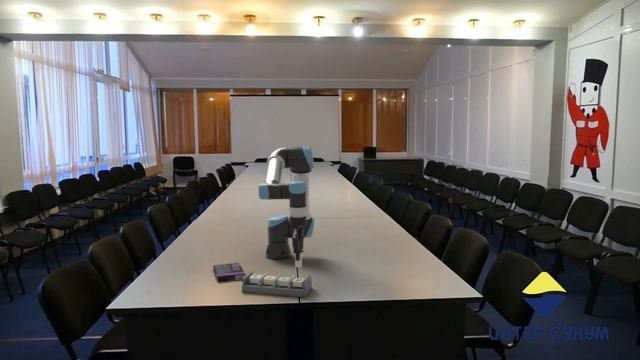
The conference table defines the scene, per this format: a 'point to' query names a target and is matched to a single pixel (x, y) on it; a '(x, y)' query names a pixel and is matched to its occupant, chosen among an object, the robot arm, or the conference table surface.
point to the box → (228, 272)
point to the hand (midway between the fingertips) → (298, 266)
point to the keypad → (276, 286)
